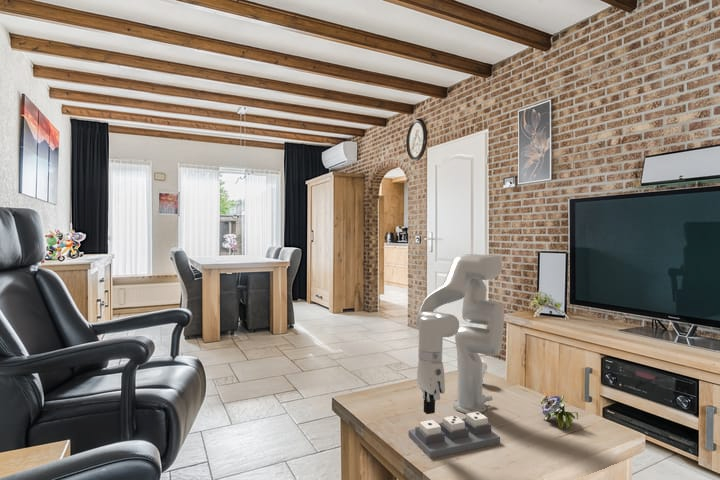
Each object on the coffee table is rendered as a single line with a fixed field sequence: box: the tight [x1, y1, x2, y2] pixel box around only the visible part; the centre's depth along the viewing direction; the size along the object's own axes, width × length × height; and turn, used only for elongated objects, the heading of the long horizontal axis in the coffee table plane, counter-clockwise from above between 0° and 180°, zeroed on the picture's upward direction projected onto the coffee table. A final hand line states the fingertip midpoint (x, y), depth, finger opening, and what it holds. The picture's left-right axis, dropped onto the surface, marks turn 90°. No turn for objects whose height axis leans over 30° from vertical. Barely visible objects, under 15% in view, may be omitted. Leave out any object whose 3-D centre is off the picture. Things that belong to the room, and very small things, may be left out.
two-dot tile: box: [465, 412, 489, 427], centre depth 133 cm, size 5×5×3 cm
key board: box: [408, 417, 501, 459], centre depth 130 cm, size 26×14×4 cm, turn 110°
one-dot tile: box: [418, 419, 441, 436], centre depth 127 cm, size 5×5×3 cm
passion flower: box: [540, 394, 579, 430], centre depth 143 cm, size 11×11×12 cm
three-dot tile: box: [442, 415, 465, 431], centre depth 130 cm, size 5×5×3 cm
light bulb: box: [481, 359, 488, 384], centre depth 180 cm, size 7×7×11 cm
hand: (429, 412), depth 126 cm, fingers closed
